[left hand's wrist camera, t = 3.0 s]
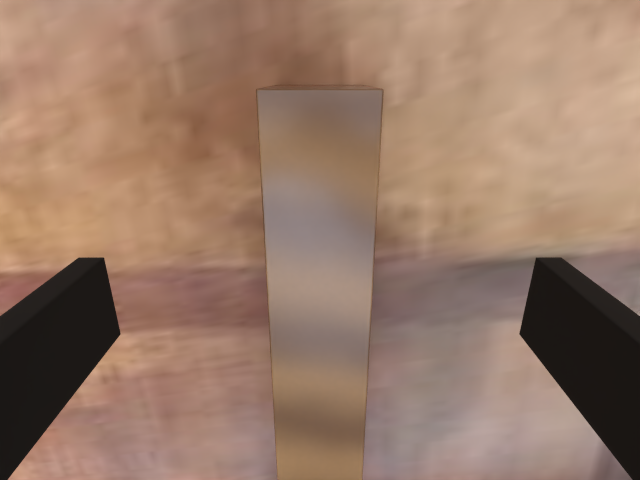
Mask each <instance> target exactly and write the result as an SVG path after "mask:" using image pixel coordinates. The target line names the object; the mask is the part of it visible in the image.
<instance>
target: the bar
mask: <svg viewBox="0 0 640 480" xmlns="http://www.w3.org/2000/svg"><path fill="white" fill-rule="evenodd" d="M256 98H257V116H258V134H259V152H260V171H261V189H262V207H263V225H264V243H265V261H266V279H267V298H268V316H269V334H270V352H271V370H272V388H273V407H274V425H275V443H276V461H277V479H278V480H362V474H363V455H364V437H365V419H366V401H367V382H368V364H369V346H370V328H371V309H372V291H373V273H374V255H375V236H376V218H377V200H378V182H379V163H380V145H381V127H382V109H383V89H380V88H375V87H369V86H364V85H276V86H270V87H265V88H260V89H256Z"/></svg>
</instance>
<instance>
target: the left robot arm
mask: <svg viewBox="0 0 640 480" xmlns="http://www.w3.org/2000/svg"><path fill="white" fill-rule="evenodd" d="M119 335H120V329H119V325H118V320H117V315H116V311H115V306H114V302H113V297H112V292H111V288H110V283H109V279H108V274H107V270H106V265H105V260H104V258H78V259H76V260H75V261H74V262H72V263H71V264H70V265H68V266H67V267H66V268H64V269H63V270H62V271H60V272H59V273H58V274H56V275H55V276H54V277H52V278H51V279H50V280H48V281H47V282H45V283H44V284H43V285H41V286H40V287H39V288H37V289H36V290H35V291H33V292H32V293H31V294H29V295H28V296H27V297H25V298H24V299H23V300H21V301H20V302H19V303H17V304H16V305H15V306H13V307H12V308H11V309H9V310H8V311H7V312H5V313H4V314H3V315H1V316H0V480H8V478H9V477H10V476H11V474H12V473H13V472H14V471H15V469H16V468H17V467H18V465H19V464H20V463H21V462H22V460H23V459H24V458H25V456H26V455H27V454H28V453H29V451H30V450H31V449H32V447H33V446H34V445H35V444H36V442H37V441H38V440H39V438H40V437H41V436H42V435H43V433H44V432H45V431H46V429H47V428H48V427H49V426H50V424H51V423H52V422H53V420H54V419H55V418H56V417H57V415H58V414H59V413H60V411H61V410H62V409H63V408H64V406H65V405H66V404H67V402H68V401H69V400H70V399H71V397H72V396H73V395H74V393H75V392H76V391H77V390H78V388H79V387H80V386H81V384H82V383H83V382H84V380H85V379H86V378H87V377H88V375H89V374H90V373H91V371H92V370H93V369H94V368H95V366H96V365H97V364H98V362H99V361H100V360H101V359H102V357H103V356H104V355H105V353H106V352H107V351H108V350H109V348H110V347H111V346H112V344H113V343H114V342H115V341H116V339H117V338H118V337H119ZM520 335H521V337H522V338H523V339H524V341H525V342H526V343H527V344H528V346H529V347H530V348H531V350H532V351H533V352H534V353H535V355H536V356H537V357H538V359H539V360H540V361H541V362H542V364H543V365H544V366H545V368H546V369H547V370H548V371H549V373H550V374H551V375H552V377H553V378H554V379H555V380H556V382H557V383H558V384H559V386H560V387H561V388H562V390H563V391H564V392H565V393H566V395H567V396H568V397H569V399H570V400H571V401H572V402H573V404H574V405H575V406H576V408H577V409H578V410H579V411H580V413H581V414H582V415H583V417H584V418H585V419H586V420H587V422H588V423H589V424H590V426H591V427H592V428H593V429H594V431H595V432H596V433H597V435H598V436H599V437H600V438H601V440H602V441H603V442H604V444H605V445H606V446H607V447H608V449H609V450H610V451H611V453H612V454H613V455H614V456H615V458H616V459H617V460H618V462H619V463H620V464H621V465H622V467H623V468H624V469H625V471H626V472H627V473H628V474H629V476H630V477H631V478H632V480H640V316H639V315H637V314H636V313H635V312H633V311H632V310H631V309H629V308H628V307H627V306H625V305H624V304H623V303H621V302H620V301H619V300H617V299H616V298H615V297H613V296H612V295H611V294H609V293H608V292H607V291H605V290H604V289H603V288H601V287H600V286H599V285H597V284H596V283H595V282H593V281H592V280H590V279H589V278H588V277H586V276H585V275H584V274H582V273H581V272H580V271H578V270H577V269H576V268H574V267H573V266H572V265H570V264H569V263H568V262H566V261H565V260H564V259H562V258H536V260H535V265H534V270H533V274H532V279H531V283H530V288H529V292H528V297H527V302H526V306H525V311H524V315H523V320H522V325H521V329H520Z"/></svg>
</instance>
